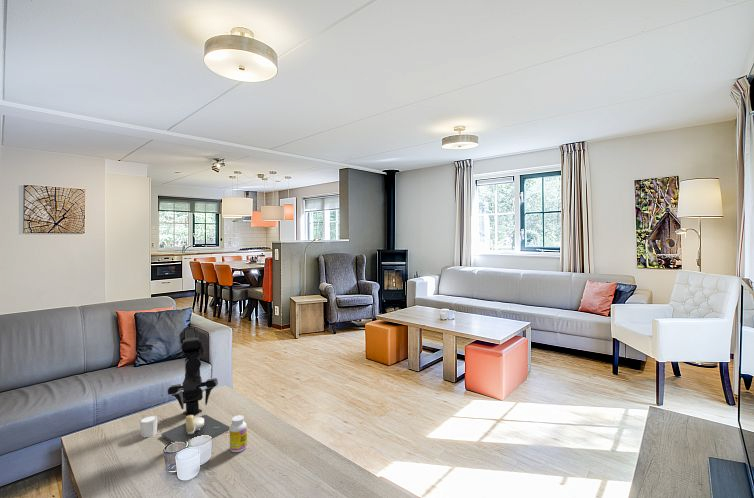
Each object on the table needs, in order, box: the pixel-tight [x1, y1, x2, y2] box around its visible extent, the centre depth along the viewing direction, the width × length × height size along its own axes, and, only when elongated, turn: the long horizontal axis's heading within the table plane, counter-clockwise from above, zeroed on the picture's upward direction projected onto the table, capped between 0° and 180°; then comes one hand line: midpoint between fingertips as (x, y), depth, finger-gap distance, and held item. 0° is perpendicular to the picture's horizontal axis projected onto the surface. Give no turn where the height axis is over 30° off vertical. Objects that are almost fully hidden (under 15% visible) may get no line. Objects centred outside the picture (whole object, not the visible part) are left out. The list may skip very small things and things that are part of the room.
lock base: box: [161, 414, 230, 444], centre depth 162 cm, size 20×20×3 cm
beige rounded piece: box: [185, 415, 204, 434], centre depth 160 cm, size 12×7×8 cm, turn 10°
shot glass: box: [139, 414, 158, 439], centre depth 162 cm, size 7×7×7 cm
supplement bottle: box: [228, 414, 248, 453], centre depth 150 cm, size 7×7×13 cm
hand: (194, 406), depth 156 cm, fingers open, 9 cm apart
